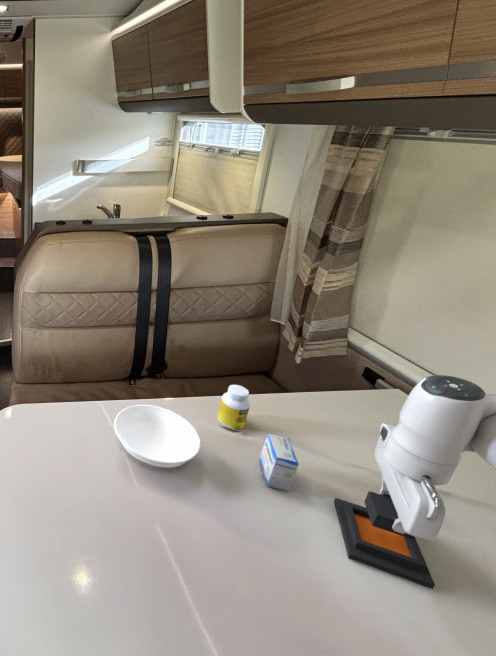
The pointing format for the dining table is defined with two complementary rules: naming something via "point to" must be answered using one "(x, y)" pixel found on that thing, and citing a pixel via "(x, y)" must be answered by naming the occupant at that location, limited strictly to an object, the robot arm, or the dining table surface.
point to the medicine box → (278, 462)
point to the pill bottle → (234, 408)
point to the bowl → (157, 435)
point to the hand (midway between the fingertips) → (391, 513)
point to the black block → (382, 512)
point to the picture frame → (380, 546)
